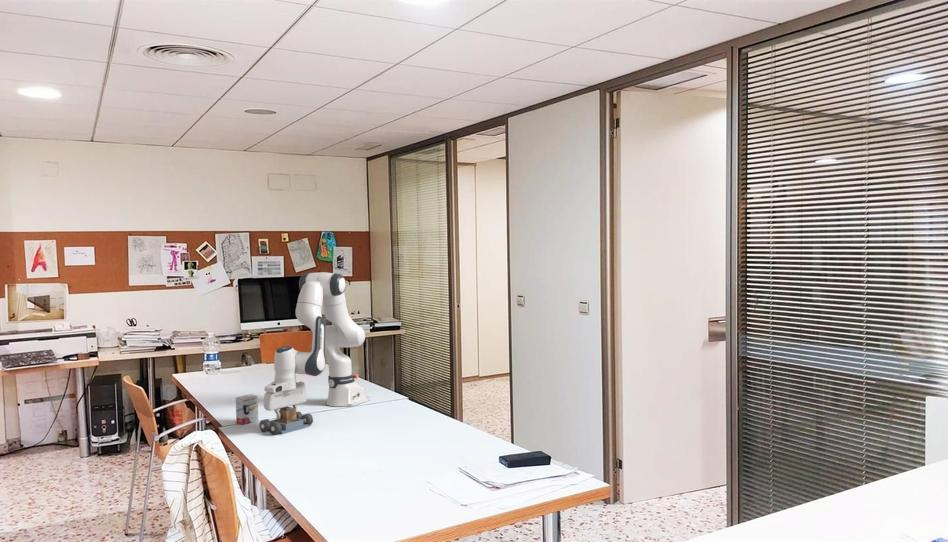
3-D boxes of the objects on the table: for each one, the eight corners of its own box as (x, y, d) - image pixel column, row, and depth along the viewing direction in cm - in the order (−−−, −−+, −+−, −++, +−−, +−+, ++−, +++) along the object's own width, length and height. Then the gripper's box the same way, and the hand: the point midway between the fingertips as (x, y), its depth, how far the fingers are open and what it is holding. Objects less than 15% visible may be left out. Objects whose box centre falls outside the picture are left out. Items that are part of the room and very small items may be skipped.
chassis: (296, 421, 302) (295, 410, 302) (313, 425, 295) (313, 414, 295) (258, 431, 287) (258, 419, 287) (276, 435, 280) (276, 423, 280)
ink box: (242, 425, 298) (241, 398, 298) (235, 423, 301) (235, 397, 301) (259, 421, 305) (258, 395, 305) (252, 419, 308) (251, 393, 308)
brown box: (286, 423, 295) (285, 405, 295) (296, 425, 291) (296, 407, 291) (276, 425, 291) (276, 407, 291) (287, 428, 287) (286, 409, 287)
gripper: (300, 379, 301) (301, 410, 301) (260, 388, 284) (262, 420, 285) (309, 381, 297) (310, 412, 297) (270, 389, 281) (271, 422, 281)
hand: (286, 416), depth 291 cm, fingers open, 6 cm apart
